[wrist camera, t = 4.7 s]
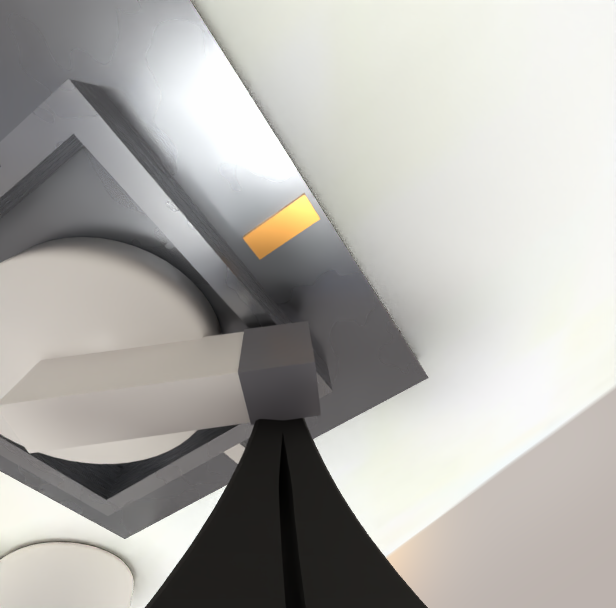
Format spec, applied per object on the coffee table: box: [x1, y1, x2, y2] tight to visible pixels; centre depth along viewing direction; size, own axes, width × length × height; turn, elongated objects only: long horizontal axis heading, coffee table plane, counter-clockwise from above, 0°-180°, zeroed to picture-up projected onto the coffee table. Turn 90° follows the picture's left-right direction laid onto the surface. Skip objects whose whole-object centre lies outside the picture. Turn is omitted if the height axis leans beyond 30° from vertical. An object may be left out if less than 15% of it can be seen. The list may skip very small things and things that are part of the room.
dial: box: [0, 237, 321, 464], centre depth 11 cm, size 11×8×4 cm
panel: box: [0, 0, 428, 539], centre depth 13 cm, size 18×18×3 cm
